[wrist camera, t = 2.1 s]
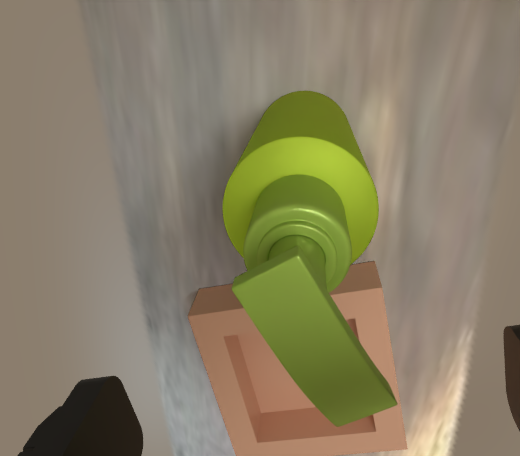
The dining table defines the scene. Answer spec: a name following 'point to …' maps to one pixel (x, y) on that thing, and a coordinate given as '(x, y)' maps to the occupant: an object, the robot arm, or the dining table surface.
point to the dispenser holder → (280, 382)
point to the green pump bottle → (306, 249)
